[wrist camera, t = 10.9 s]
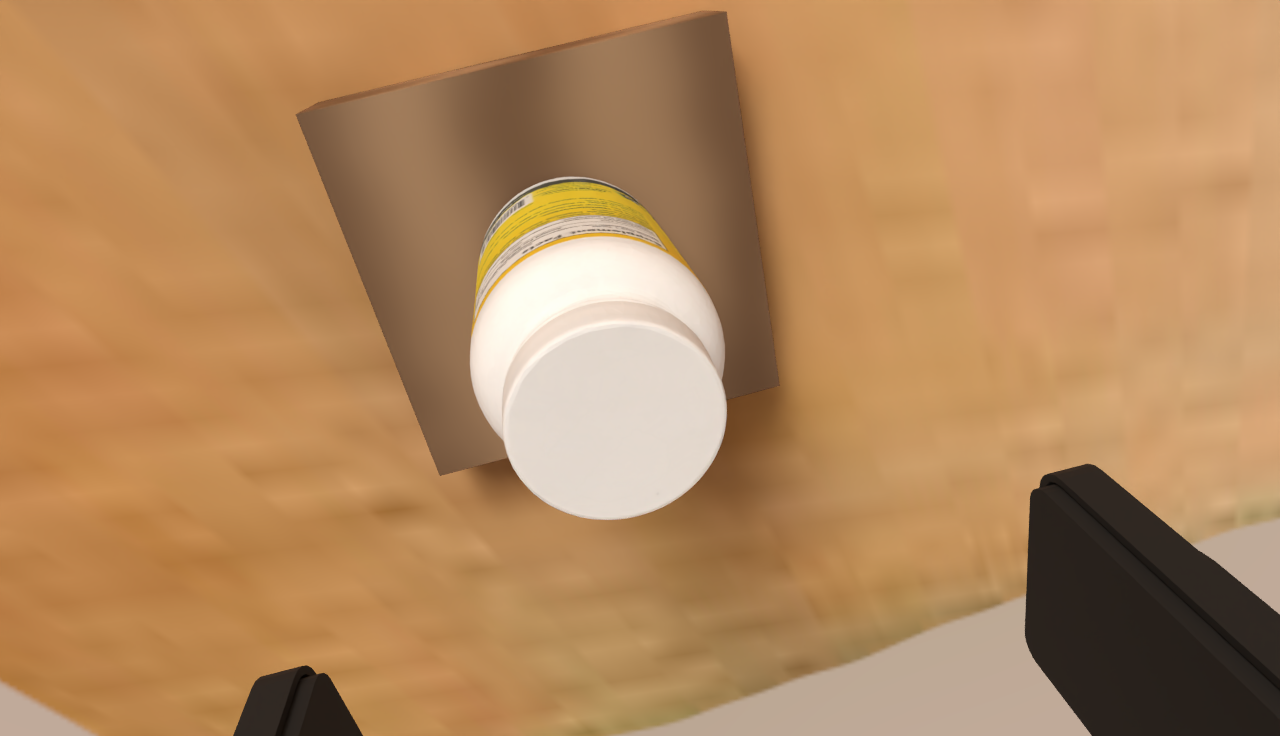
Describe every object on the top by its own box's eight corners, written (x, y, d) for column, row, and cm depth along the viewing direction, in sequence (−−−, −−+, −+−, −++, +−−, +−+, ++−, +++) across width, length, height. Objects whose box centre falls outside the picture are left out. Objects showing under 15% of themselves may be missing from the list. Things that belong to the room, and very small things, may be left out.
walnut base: (702, 10, 26) (726, 11, 23) (756, 353, 31) (779, 385, 29) (318, 102, 25) (295, 114, 22) (445, 434, 31) (439, 475, 28)
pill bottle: (651, 356, 27) (733, 555, 17) (474, 344, 26) (455, 551, 16) (679, 181, 25) (793, 299, 15) (484, 160, 24) (470, 272, 14)
